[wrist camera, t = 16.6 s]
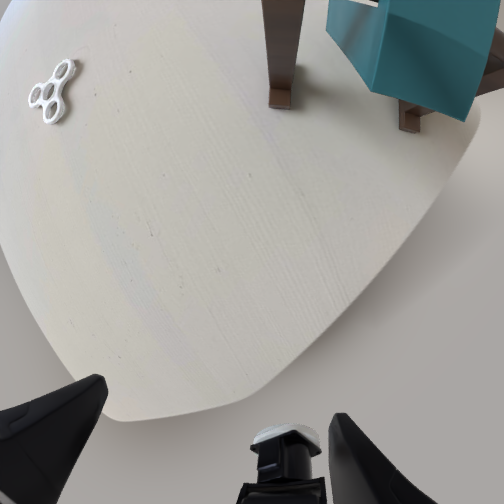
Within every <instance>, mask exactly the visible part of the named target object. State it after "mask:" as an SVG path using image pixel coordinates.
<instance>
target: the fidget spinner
mask: <svg viewBox="0 0 504 504" xmlns="http://www.w3.org/2000/svg"><path fill="white" fill-rule="evenodd" d="M67 64H68V70H67V72H66V74H65V75H64V76H63V77H62V78H61V79H59V74H60V71H61V70H62V68H63V67H64V66H65V65H67ZM74 68H75V63H74V61H73V60H71V59H65V60H63V61H62V62H60V63H59V64H58V66H57V67H56V69H55V71H54V73H53V75H52V77H51V78H50V79H49V80H48V81H47V82H46V83H38V84H37V85H35V86H34V88H33V89H32V91H31V93H30V95H29V100H28V103H29V106H30V107H31V108H37V107H39V106H40V105H42V107H43V119H44V122H45V123H46V124H54V123H56V122H57V121H58V120H59V118H60V117H61V115H62V113H63V110H64V101H63V99H62V97H61V92H62V88H63V86H64V84H65V83H66V82H67V81H68V80H69V78H70V77H71V76H72V74H73V71H74ZM53 85H54V92H53V94H52V96H51V97H50V98H49V99H47V94H48V91H49V90H50V88H51V87H52V86H53ZM40 88H41V93H40V96H39V98H38V100H37V101H36V102H34V97H35V94H36V92H37V91H38V90H39V89H40ZM55 102H57V111H56V113H55V115H54V116H53V117H52V118H51V119H50V116H49V112H50V109H51V107H52V105H53V104H54V103H55Z"/></svg>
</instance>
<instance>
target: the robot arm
mask: <svg viewBox="0 0 504 504" xmlns="http://www.w3.org/2000/svg"><path fill="white" fill-rule="evenodd" d="M107 396H108V388H107V384H106V381H105V378H104V377H103V376H101V375H98V374H92V375H90V376H88V377H86V378H83V379H81V380H79V381H77V382H74V383H72V384H70V385H67V386H65V387H63V388H60V389H58V390H56V391H53V392H51V393H49V394H46V395H44V396H41V397H39V398H36V399H34V400H31V401H30V402H26V403H24V404H21V405H18V406H15V407H13V408H9V409H6V410H2V411H0V504H56V503H57V501H58V499H59V497H60V495H61V492H62V490H63V488H64V485H65V484H66V482H67V479H68V477H69V476H70V473H71V471H72V469H73V467H74V465H75V463H76V461H77V459H78V457H79V456H80V454H81V452H82V450H83V448H84V446H85V444H86V442H87V440H88V438H89V436H90V435H91V433H92V431H93V429H94V427H95V425H96V423H97V421H98V418H99V416H100V414H101V411H102V409H103V406H104V404H105V401H106V399H107ZM250 450H251V451H253V452H254V453H256V454H257V455H258V464H257V470H258V477H257V483H256V484H255V483H253V484H252V483H243V487H242V488H241V490H240V493H239V497H238V500H237V503H236V504H327V498H326V488H325V479H324V477H320V478H316V479H312V466H311V457H314V456H316V455H319V454H320V453H321V452H322V451H321V449H320V448H319V447H318V446H316V445H315V444H314V443H312V442H311V441H310V440H308V439H307V438H306V437H305V436H303V435H302V434H301V433H300V432H298V431H297V430H290V431H288V432H285V433H283V434H280V435H278V436H275V437H273V438H270V439H267V440H264V441H262V442H259V443H256V444H253V445H251V446H250ZM329 470H330V478H331V485H332V494H333V503H334V504H437V503H436V502H435V501H434V500H432V499H431V498H430V497H428V496H427V495H425V494H424V493H423V492H422V491H420V490H419V489H418V488H417V487H416V486H414V485H413V484H412V483H411V482H410V481H409V480H408V479H406V477H405V476H404V475H402V474H401V473H400V471H399V470H396V467H395V466H394V465H393V464H392V463H391V462H390V461H389V460H388V459H387V458H386V457H385V456H384V454H383V453H382V452H381V451H380V450H379V449H378V448H377V447H376V446H375V445H374V444H373V442H372V441H371V440H370V439H369V438H368V437H367V436H366V435H365V434H364V433H363V431H362V430H361V429H360V428H359V427H358V426H357V425H356V424H355V422H354V421H353V420H352V419H351V418H350V417H349V416H348V415H347V414H346V413H335V415H334V416H333V419H332V421H331V423H330V426H329Z"/></svg>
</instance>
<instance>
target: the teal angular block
mask: <svg viewBox="0 0 504 504" xmlns="http://www.w3.org/2000/svg"><path fill="white" fill-rule="evenodd" d="M499 6H500V0H379V2H378V8H377V7H373V6H370V5H366V4H362V3H358V2H354V1H349V0H329V5H328V15H327V25H326V31H327V32H328V34H329V35H330V36H331V37H332V39H333V40H334V41H335V42H336V44H337V45H338V46H339V47H340V49H341V50H342V51H343V53H344V54H345V55H346V56H347V58H348V59H349V61H350V62H351V63H352V65H353V66H354V67H355V69H356V70H357V72H358V73H359V75H360V76H361V78H362V79H363V81H364V82H365V84H366V85H367V87H368V88H369V90H370V91H371V92H375V93H379V94H383V95H387V96H390V97H394V98H397V99H401V100H404V101H407V102H411V103H414V104H417V105H420V106H423V107H426V108H429V109H432V110H434V111H437V112H440V113H442V114H445V115H448V116H450V117H453V118H455V119H457V120H460V121H462V122H465V120H466V118H467V115H468V113H469V110H470V108H471V105H472V103H473V100H474V98H475V95H476V92H477V90H478V87H479V84H480V81H481V78H482V76H483V73H484V69H485V66H486V63H487V60H488V55H489V51H490V48H491V44H492V40H493V36H494V32H495V28H496V23H497V18H498V12H499Z"/></svg>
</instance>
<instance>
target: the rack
mask: <svg viewBox="0 0 504 504" xmlns="http://www.w3.org/2000/svg"><path fill="white" fill-rule="evenodd" d="M261 1H262V10H263V20H264V29H265V40H266V50H267V61H268V73H269V85H270V90H269V103H268V104H269V108H279V109H290V103H291V89H292V83H293V76H294V70H295V64H296V58H297V51H298V45H299V39H300V32H301V26H302V19H303V12H304V6H305V0H261ZM370 1H374V2H377V3H378V2H379V0H370ZM501 88H504V33H503V32H502V31H501V30H499V29H498V28H495V32H494V36H493V40H492V44H491V48H490V51H489V55H488V60H487V63H486V66H485V69H484V73H483V76H482V78H481V81H480V84H479V87H478V90H477V92H476V95H475V97H476V96H479V95H482V94H485V93H488V92H491V91H495V90H498V89H501ZM432 112H434V110H432V109H429V108H426V107H423V106H420V105H417V104H414V103H411V102H407V101H404V100H401V99H399V129H400V130H404V131H408V132H411V133H418V132H420V117H421V116H424V115H426V114H429V113H432Z"/></svg>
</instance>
